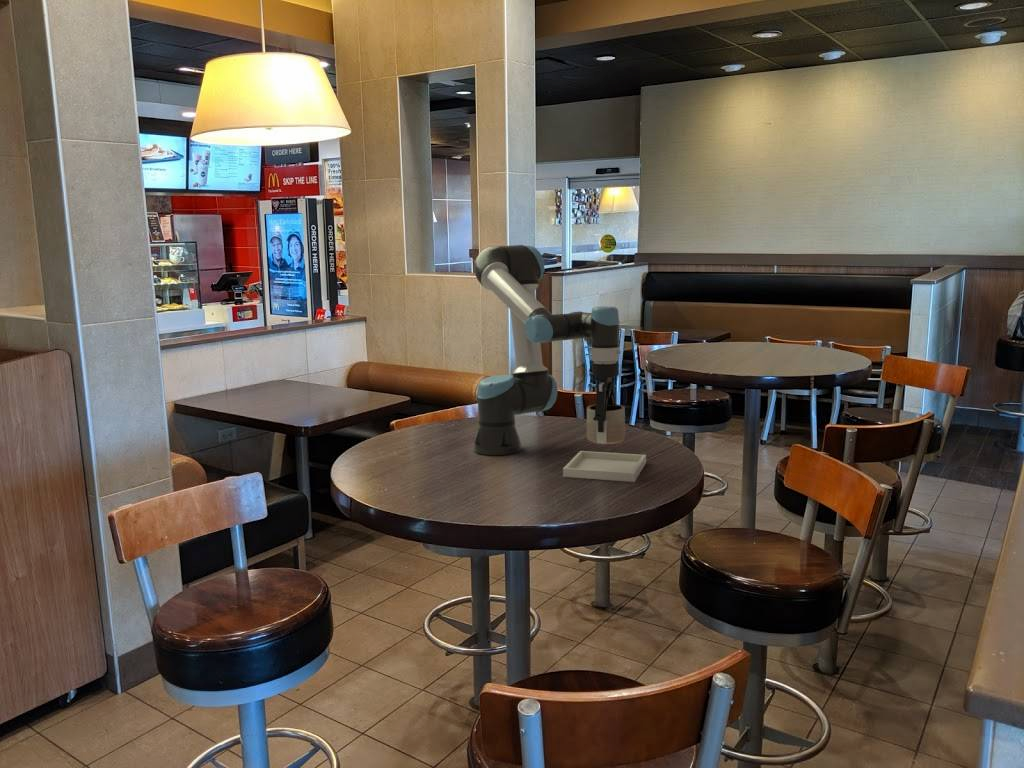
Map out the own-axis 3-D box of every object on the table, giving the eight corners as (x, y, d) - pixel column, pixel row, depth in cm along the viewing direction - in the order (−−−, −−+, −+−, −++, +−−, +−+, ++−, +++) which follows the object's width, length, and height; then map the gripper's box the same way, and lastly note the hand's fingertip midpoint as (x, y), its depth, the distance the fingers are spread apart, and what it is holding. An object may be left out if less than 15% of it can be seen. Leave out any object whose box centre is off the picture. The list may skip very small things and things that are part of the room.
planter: (580, 442, 221) (580, 409, 220) (595, 434, 231) (594, 402, 229) (617, 446, 216) (617, 412, 215) (630, 437, 226) (630, 405, 224)
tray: (563, 476, 219) (562, 468, 219) (580, 458, 238) (579, 450, 237) (634, 482, 213) (634, 473, 212) (646, 462, 231) (646, 454, 231)
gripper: (610, 368, 208) (610, 448, 211) (626, 356, 230) (626, 430, 233) (582, 367, 210) (583, 447, 214) (601, 356, 232) (601, 428, 236)
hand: (605, 438), depth 224 cm, fingers closed on planter, 11 cm apart
